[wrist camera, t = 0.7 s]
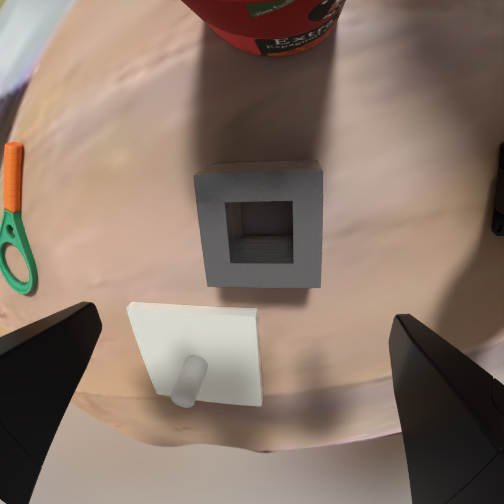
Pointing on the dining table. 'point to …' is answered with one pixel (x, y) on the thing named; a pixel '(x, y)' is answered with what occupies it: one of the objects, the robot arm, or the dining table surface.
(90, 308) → the robot arm
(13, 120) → the dining table surface
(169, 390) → the post block
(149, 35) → the dining table surface
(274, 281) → the square hole block
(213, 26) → the canned food
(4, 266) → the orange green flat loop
